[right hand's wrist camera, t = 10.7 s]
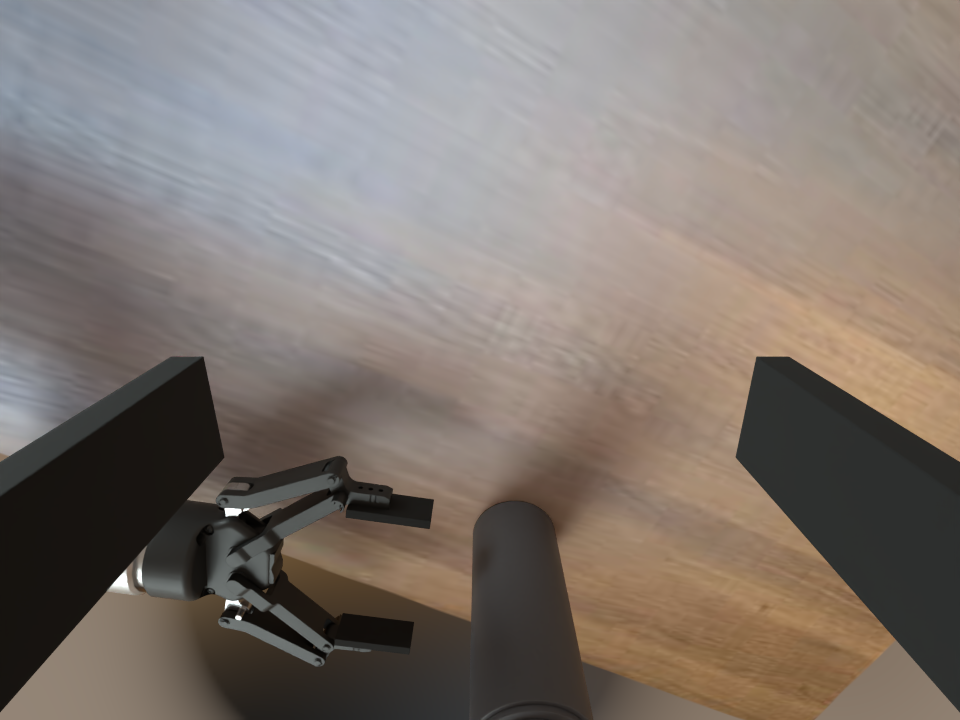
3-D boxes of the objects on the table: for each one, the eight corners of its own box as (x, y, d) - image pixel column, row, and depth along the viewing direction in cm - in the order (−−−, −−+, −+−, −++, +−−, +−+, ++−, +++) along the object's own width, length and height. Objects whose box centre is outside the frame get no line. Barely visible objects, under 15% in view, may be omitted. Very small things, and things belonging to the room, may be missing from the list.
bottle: (533, 488, 47) (578, 767, 25) (567, 548, 50) (636, 850, 28) (458, 520, 49) (440, 812, 27) (495, 577, 51) (507, 887, 29)
